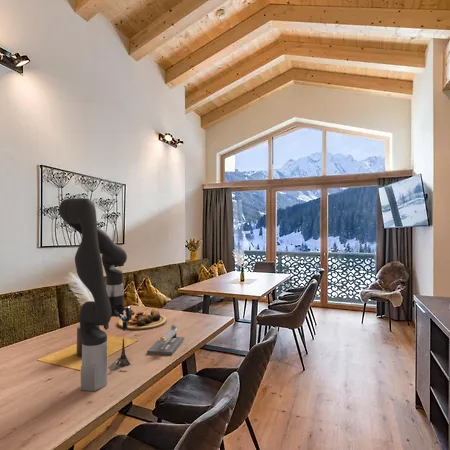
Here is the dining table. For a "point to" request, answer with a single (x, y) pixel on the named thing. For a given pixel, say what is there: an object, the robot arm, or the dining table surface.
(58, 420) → the dining table surface
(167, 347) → the label board
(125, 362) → the eiffel tower figurine
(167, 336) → the swing arm
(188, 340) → the dining table surface
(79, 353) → the pillar candle
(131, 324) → the wooden plate with food
